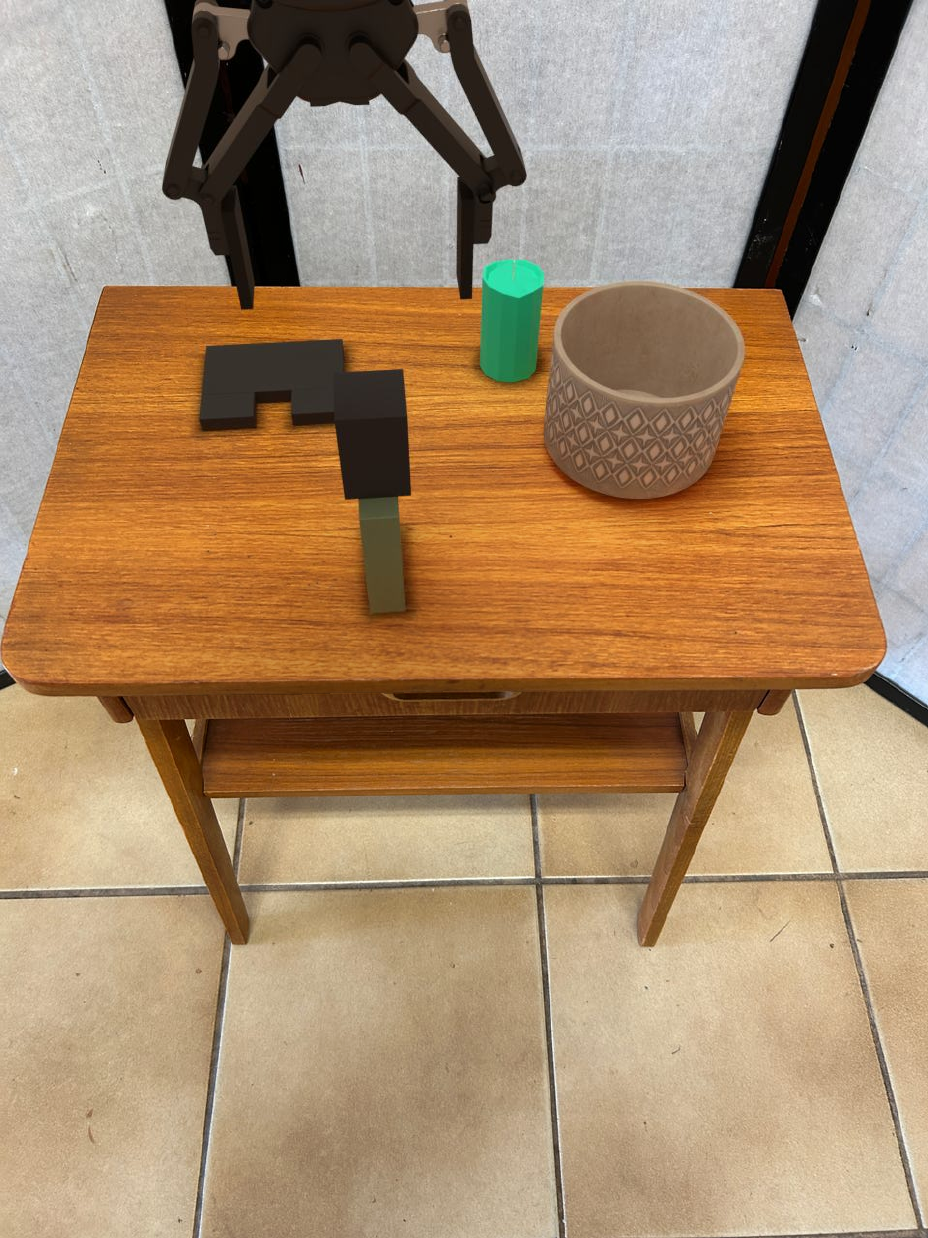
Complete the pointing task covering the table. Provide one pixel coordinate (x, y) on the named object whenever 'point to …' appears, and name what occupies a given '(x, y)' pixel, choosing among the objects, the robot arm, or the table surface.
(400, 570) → the stand
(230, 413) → the pad
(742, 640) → the table surface
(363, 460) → the black rectangular block
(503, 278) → the candle
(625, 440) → the planter
